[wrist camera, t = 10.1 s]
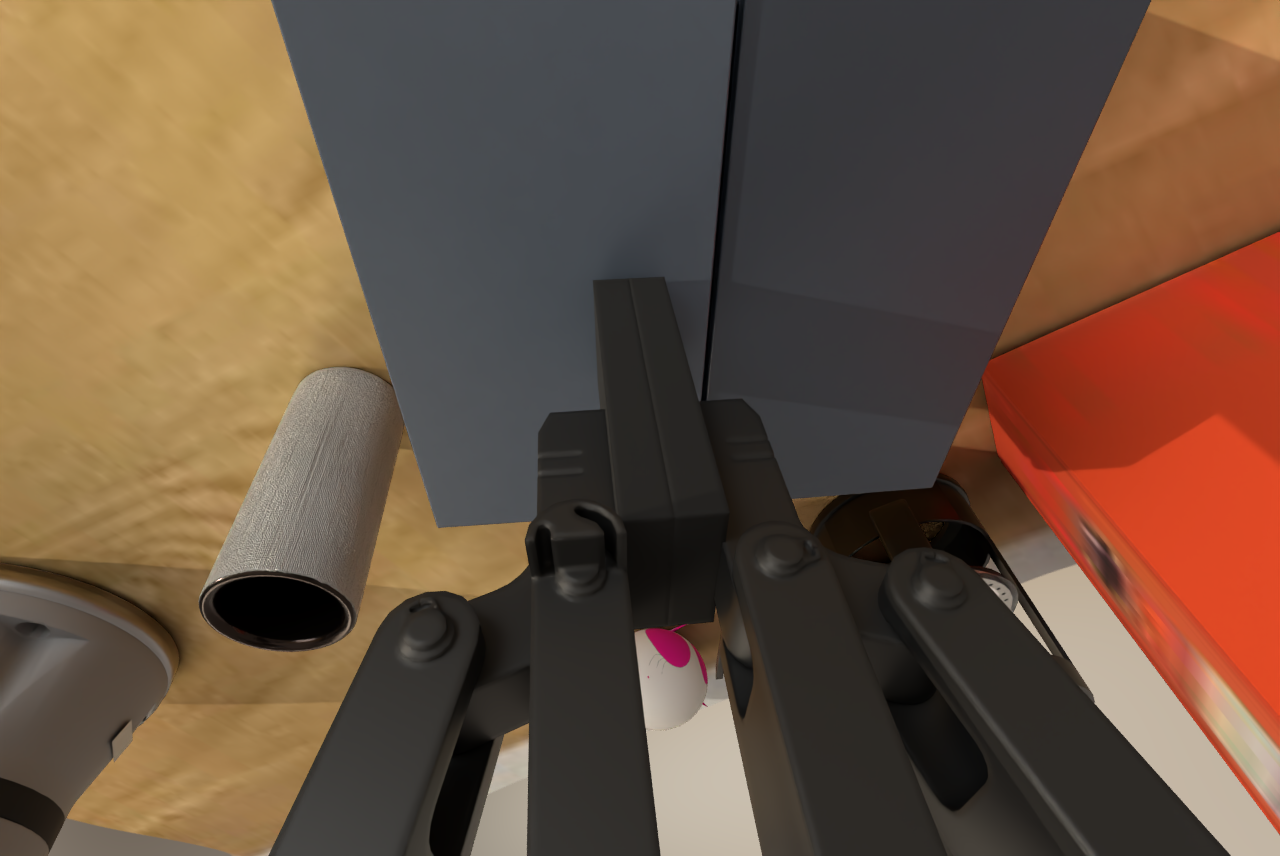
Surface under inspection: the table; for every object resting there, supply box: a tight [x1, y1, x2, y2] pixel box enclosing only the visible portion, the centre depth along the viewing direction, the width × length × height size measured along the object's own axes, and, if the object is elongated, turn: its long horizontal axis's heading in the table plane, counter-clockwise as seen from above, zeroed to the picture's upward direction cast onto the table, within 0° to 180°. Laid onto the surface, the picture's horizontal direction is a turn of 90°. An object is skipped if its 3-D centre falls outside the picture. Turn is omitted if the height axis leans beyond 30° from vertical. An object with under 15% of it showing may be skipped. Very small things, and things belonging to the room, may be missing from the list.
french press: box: [810, 474, 1095, 856], centre depth 29 cm, size 12×9×23 cm
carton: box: [701, 0, 1151, 499], centre depth 19 cm, size 15×13×10 cm
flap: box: [271, 0, 737, 528], centre depth 15 cm, size 7×13×1 cm, turn 0°
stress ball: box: [635, 624, 708, 730], centre depth 42 cm, size 8×8×7 cm
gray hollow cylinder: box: [199, 367, 405, 652], centre depth 24 cm, size 4×4×10 cm
